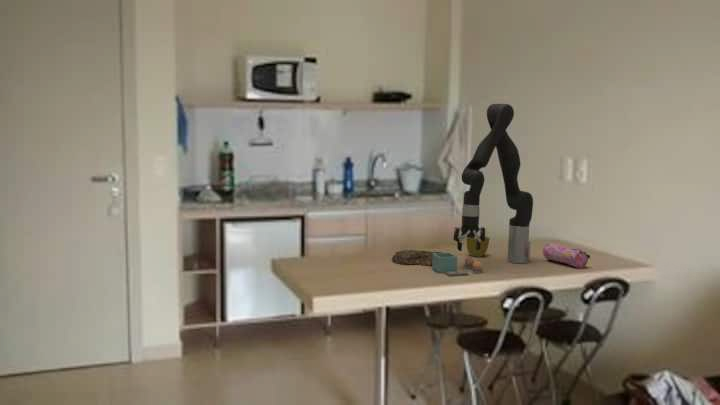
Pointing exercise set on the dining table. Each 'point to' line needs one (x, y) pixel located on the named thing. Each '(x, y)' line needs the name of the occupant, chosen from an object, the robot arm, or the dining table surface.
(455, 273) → the card
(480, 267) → the ball
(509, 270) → the dining table surface
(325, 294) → the dining table surface
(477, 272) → the frame
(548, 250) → the pencil case
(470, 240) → the flower pot
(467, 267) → the frame
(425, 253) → the stone relief
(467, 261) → the ball
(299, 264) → the dining table surface
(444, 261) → the teal open box
